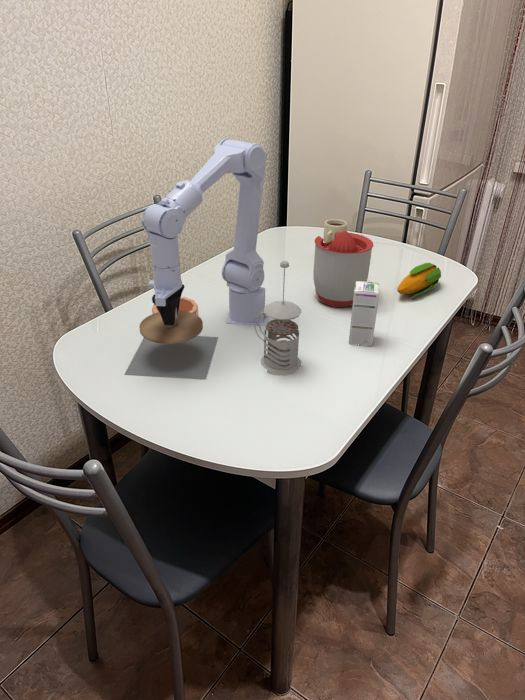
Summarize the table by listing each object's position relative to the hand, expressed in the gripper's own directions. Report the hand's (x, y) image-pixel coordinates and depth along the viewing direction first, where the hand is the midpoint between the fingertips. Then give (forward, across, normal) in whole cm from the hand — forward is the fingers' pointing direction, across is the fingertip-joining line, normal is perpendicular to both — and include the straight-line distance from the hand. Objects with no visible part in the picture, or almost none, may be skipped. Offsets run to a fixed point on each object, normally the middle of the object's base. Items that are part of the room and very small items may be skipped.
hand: (171, 320), depth 116 cm
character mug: (+10, -62, +39) cm, 74 cm away
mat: (+9, 0, 0) cm, 9 cm away
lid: (+2, 0, 0) cm, 2 cm away
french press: (+10, 0, +24) cm, 26 cm away
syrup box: (+10, -12, +44) cm, 47 cm away
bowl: (+9, -16, -3) cm, 19 cm away
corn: (+10, -41, +63) cm, 76 cm away
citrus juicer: (+10, -35, +39) cm, 53 cm away
